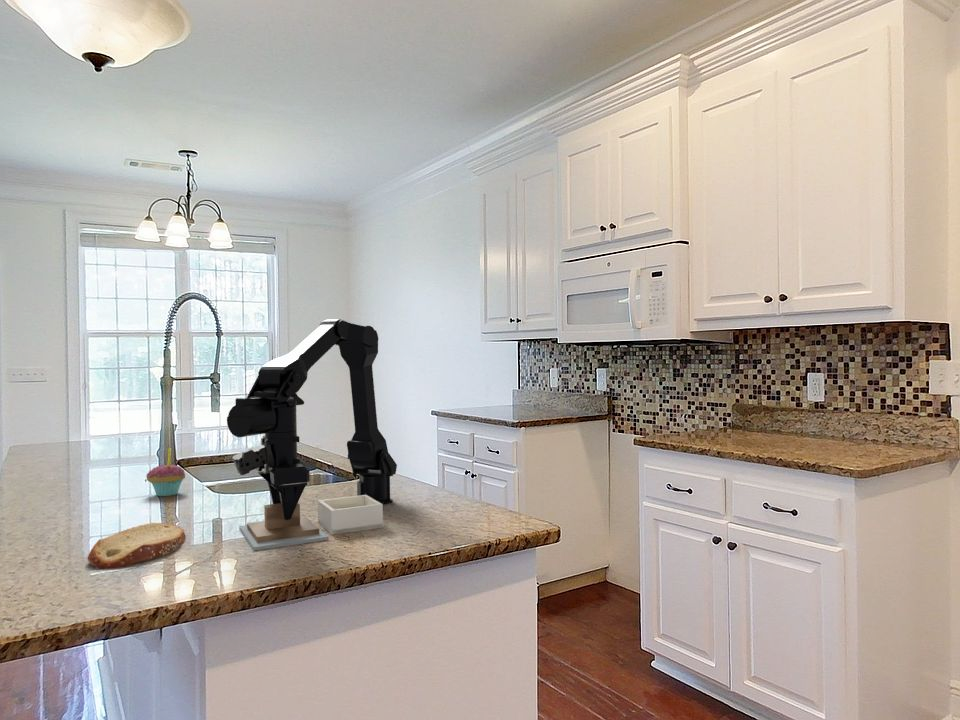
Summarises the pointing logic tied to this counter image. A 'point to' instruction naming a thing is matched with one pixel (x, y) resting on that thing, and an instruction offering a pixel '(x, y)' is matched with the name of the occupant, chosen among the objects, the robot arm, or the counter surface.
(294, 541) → the mat
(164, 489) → the cupcake
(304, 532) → the lid
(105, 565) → the slice of bread
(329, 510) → the dish
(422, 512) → the counter surface
